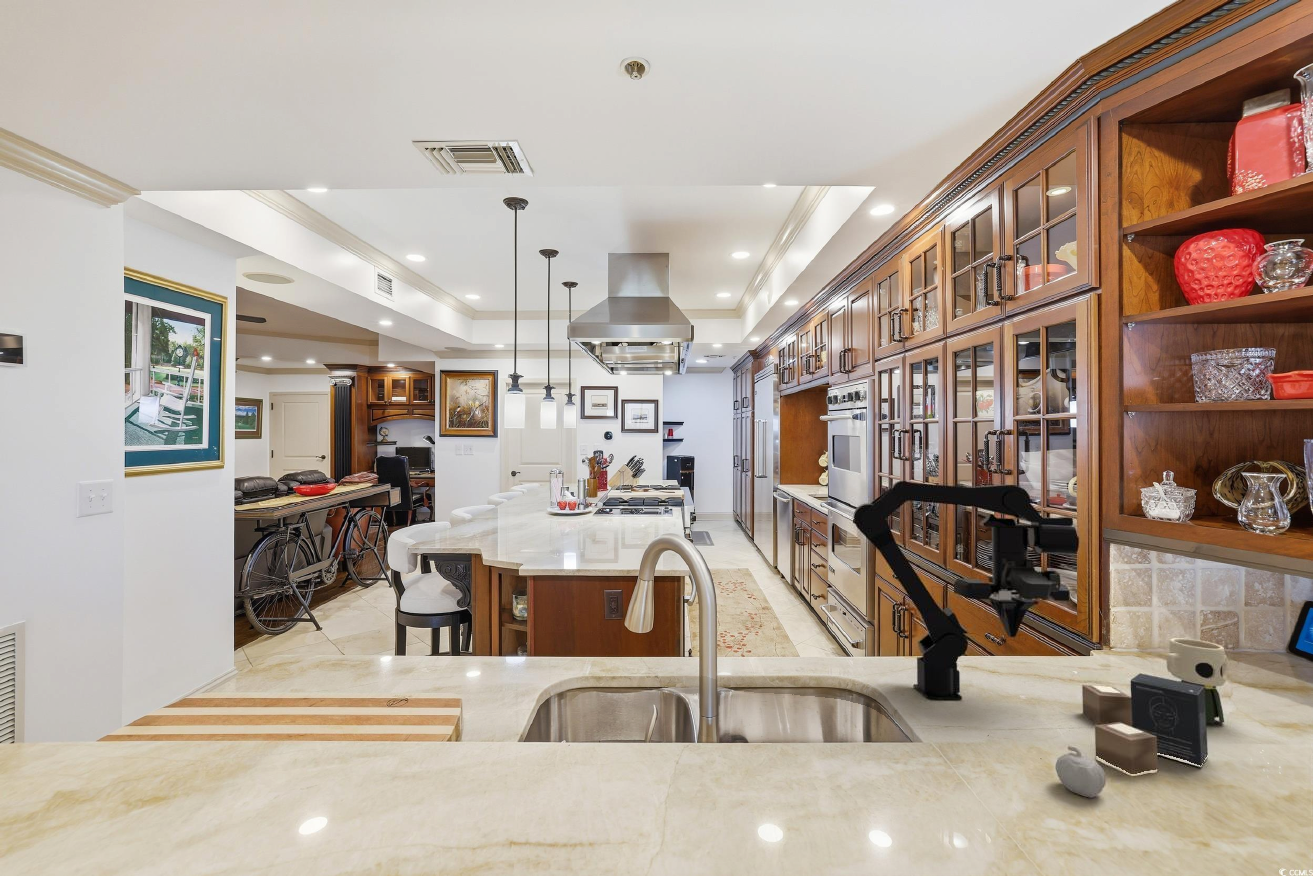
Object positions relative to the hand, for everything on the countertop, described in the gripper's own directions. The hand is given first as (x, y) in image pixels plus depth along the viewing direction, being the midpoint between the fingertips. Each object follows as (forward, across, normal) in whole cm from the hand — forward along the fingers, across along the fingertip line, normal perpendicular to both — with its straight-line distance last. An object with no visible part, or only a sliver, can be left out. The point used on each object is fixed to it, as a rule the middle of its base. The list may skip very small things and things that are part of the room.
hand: (1011, 636), depth 107 cm
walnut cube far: (+12, +12, -7) cm, 18 cm away
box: (+12, +12, -19) cm, 26 cm away
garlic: (+12, -10, -30) cm, 34 cm away
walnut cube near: (+12, +2, -23) cm, 26 cm away
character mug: (+12, +29, -6) cm, 32 cm away
